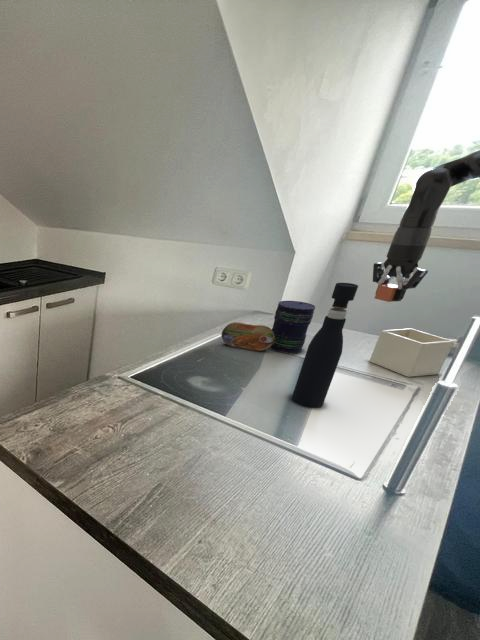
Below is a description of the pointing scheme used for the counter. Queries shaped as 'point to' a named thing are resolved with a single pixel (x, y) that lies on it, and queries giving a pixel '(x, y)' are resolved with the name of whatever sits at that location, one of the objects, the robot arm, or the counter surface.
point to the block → (386, 292)
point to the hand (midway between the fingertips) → (387, 298)
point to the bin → (411, 352)
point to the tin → (248, 336)
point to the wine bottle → (324, 351)
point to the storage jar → (291, 325)
